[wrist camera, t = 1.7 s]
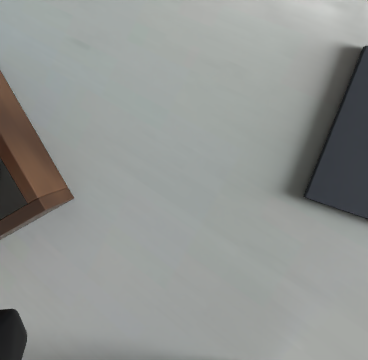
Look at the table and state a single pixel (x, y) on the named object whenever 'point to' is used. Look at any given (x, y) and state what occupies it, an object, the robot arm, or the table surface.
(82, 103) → the table surface
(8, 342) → the robot arm
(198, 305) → the table surface
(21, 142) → the crate
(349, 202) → the mat
